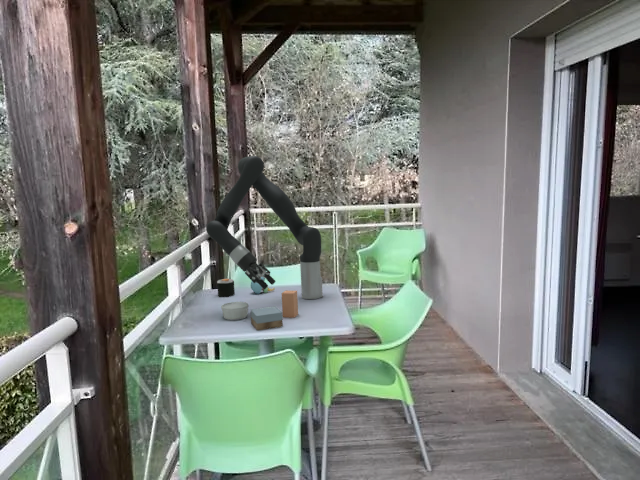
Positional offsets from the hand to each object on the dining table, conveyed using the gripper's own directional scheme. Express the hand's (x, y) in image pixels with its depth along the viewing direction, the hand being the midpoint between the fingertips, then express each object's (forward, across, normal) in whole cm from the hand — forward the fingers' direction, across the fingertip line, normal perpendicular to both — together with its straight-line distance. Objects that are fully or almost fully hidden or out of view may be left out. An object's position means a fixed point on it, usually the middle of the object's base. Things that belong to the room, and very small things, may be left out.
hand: (270, 285), depth 206 cm
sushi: (-16, +31, +34) cm, 49 cm away
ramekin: (-1, -5, +19) cm, 20 cm away
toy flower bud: (-4, +38, +22) cm, 45 cm away
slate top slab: (+9, -13, +5) cm, 17 cm away
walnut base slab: (+11, -14, +7) cm, 19 cm away
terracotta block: (+15, 0, +3) cm, 15 cm away
